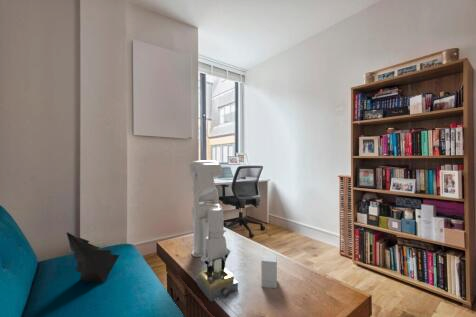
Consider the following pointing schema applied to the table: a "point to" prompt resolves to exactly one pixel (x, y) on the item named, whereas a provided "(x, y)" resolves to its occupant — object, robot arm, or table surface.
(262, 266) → the supplement box
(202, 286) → the grey and gold box
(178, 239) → the table surface
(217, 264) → the pale green bottle
